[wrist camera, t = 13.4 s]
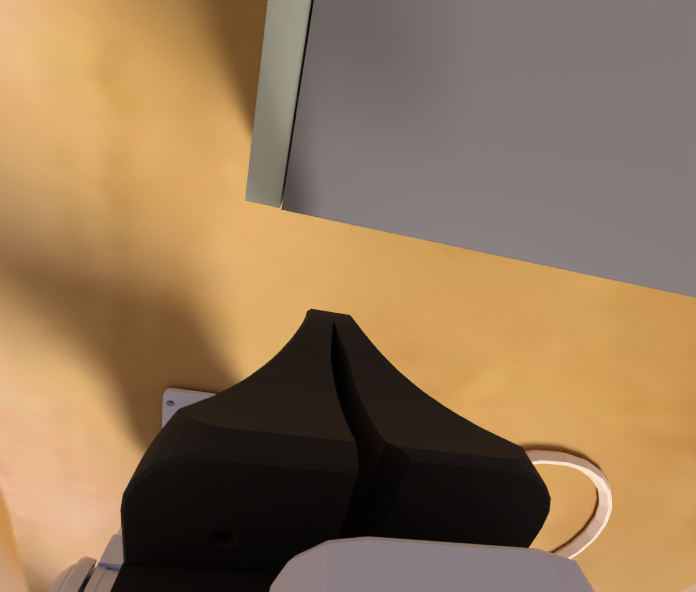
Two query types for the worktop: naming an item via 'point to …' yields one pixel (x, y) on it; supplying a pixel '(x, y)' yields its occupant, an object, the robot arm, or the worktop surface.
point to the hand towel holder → (603, 489)
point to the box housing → (507, 130)
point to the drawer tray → (277, 98)
